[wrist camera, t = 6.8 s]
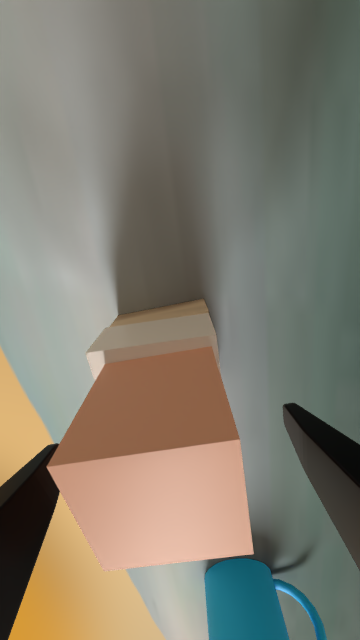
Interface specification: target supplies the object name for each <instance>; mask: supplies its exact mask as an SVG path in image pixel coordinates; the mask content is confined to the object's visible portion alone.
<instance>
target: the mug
mask: <svg viewBox="0 0 360 640" xmlns="http://www.w3.org/2000/svg"><path fill="white" fill-rule="evenodd" d="M276 590H281V591H283V592H285V593H287V594H290V595H291V596H292V597H293V598H295V599H296V600H297V601H298V602H300V604H301V605H302V606H303V607H304V609H305V610H306V611H307V613H308V614H309V616H310V618H311V621H312V623H313V625H314V628H315V632H316V637H317V640H327V638H326V634H325V630H324V626H323V623H322V621H321V619H320V617H319V615H318V613H317V611H316V609H315V607H314V606H313V605H312V603H311V602H310V601H309V600H308V599H307V597H306V596H305V595H304V594H303V593H302V592H300V591H299V590H298V589H297V588H295V587H294V586H293V585H291V584H289V583H286V582H284V581H282V580H279V579H273V578H272V574H271V571H270V568H269V567H267V566H266V565H265V564H264V563H262V562H260V561H257V560H253V559H248V558H236V559H230V560H225V561H222V562H220V563H217V564H215V565H214V566H212V567H211V568H209V569H208V571H207V572H206V574H205V593H206V606H207V619H208V633H209V640H289V636H288V633H287V629H286V625H285V622H284V618H283V614H282V611H281V607H280V603H279V600H278V596H277V593H276Z"/></svg>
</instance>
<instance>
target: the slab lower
mask: <svg viewBox="0 0 360 640" xmlns="http://www.w3.org/2000/svg"><path fill="white" fill-rule="evenodd" d="M203 313H209V311H208V308H207V306H206V303H205V301H204V299H199V300H194V301H189V302H184V303H179V304H174V305H169V306H164V307H159V308H153V309H148V310H143V311H138V312H133V313H128V314H123V315H118V316H117V318H116V319H115V320H114V322H113V323H112V324H111V326H110V327H114V326H121V325H128V324H135V323H142V322H148V321H155V320H162V319H169V318H176V317H183V316H189V315H196V314H203Z"/></svg>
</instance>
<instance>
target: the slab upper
mask: <svg viewBox="0 0 360 640" xmlns="http://www.w3.org/2000/svg"><path fill="white" fill-rule="evenodd" d="M210 346H212V349H213V352H214V356H215V359H216V362H217V366H218V369H219V372H220V364H219V354H218V345H217V336H216V332H215V329H214V327H213V324H212V321H211V319H210V316H209V313H203V314H196V315H189V316H183V317H176V318H169V319H162V320H155V321H148V322H142V323H135V324H128V325H121V326H114V327H107V328H105V329H104V330H103V332H102V333H101V334H100V335H99V337H98V338H97V339H96V340H95V342H94V343H93V344H92V345H91V347H90V348H89V349H88V350H87V352H86V356H87V359H88V362H89V365H90V368H91V371H92V374H93V377H94V380H95V381H96V379H97V377H98V375H99V374H100V372H101V370H102V368H103V367H104V365H105V364H108V363H114V362H120V361H126V360H132V359H138V358H144V357H150V356H156V355H162V354H168V353H174V352H180V351H186V350H192V349H198V348H204V347H210ZM220 376H221V373H220Z"/></svg>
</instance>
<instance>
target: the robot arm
mask: <svg viewBox="0 0 360 640" xmlns="http://www.w3.org/2000/svg"><path fill="white" fill-rule="evenodd" d="M283 418H284V424H285V427H286V430H287V432H288V434H289V437H290V439H291V441H292V444H293V446H294V448H295V451H296V453H297V455H298V457H299V460H300V462H301V464H302V467H303V469H304V471H305V473H306V475H307V476H308V478H309V480H310V482H311V484H312V485H313V487H314V489H315V491H316V493H317V495H318V496H319V498H320V500H321V502H322V504H323V505H324V507H325V509H326V511H327V513H328V514H329V516H330V518H331V520H332V522H333V523H334V525H335V527H336V529H337V531H338V532H339V534H340V536H341V538H342V540H343V541H344V543H345V545H346V547H347V549H348V550H349V552H350V554H351V556H352V558H353V559H354V561H355V563H356V565H357V567H358V569H359V570H360V445H359V444H358V443H356V442H355V441H353V440H352V439H350V438H349V437H347V436H345V435H344V434H342V433H341V432H339V431H338V430H336V429H335V428H333V427H331V426H330V425H328V424H327V423H325V422H324V421H322V420H321V419H319V418H317V417H316V416H314V415H313V414H311V413H310V412H308V411H307V410H305V409H303V408H302V407H300V406H299V405H297V404H296V403H288V404H284V405H283ZM58 446H59V444H58V443H56V444H51V445H48V446H46V447H45V448H44V449H43V450H42V451H41V452H40V453H38V454H37V455H36V456H35V457H34V458H33V459H32V460H30V461H29V462H28V463H27V464H26V465H25V466H24V467H22V468H21V469H20V470H19V471H18V472H17V473H16V474H14V475H13V476H12V477H11V478H10V479H9V480H7V481H6V482H5V483H4V484H3V485H2V486H1V487H0V640H8V638H9V635H10V633H11V629H12V627H13V624H14V621H15V619H16V616H17V613H18V610H19V607H20V605H21V602H22V599H23V596H24V593H25V591H26V588H27V585H28V582H29V580H30V577H31V574H32V571H33V568H34V566H35V563H36V560H37V557H38V554H39V551H40V549H41V546H42V543H43V540H44V538H45V535H46V532H47V529H48V527H49V524H50V521H51V518H52V515H53V513H54V509H55V507H56V503H57V500H58V496H59V492H60V491H59V489H58V487H57V485H56V483H55V481H54V480H53V478H52V476H51V474H50V472H49V471H48V469H47V465H48V464H49V462H50V460H51V458H52V457H53V455H54V453H55V451H56V449H57V448H58Z"/></svg>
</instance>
